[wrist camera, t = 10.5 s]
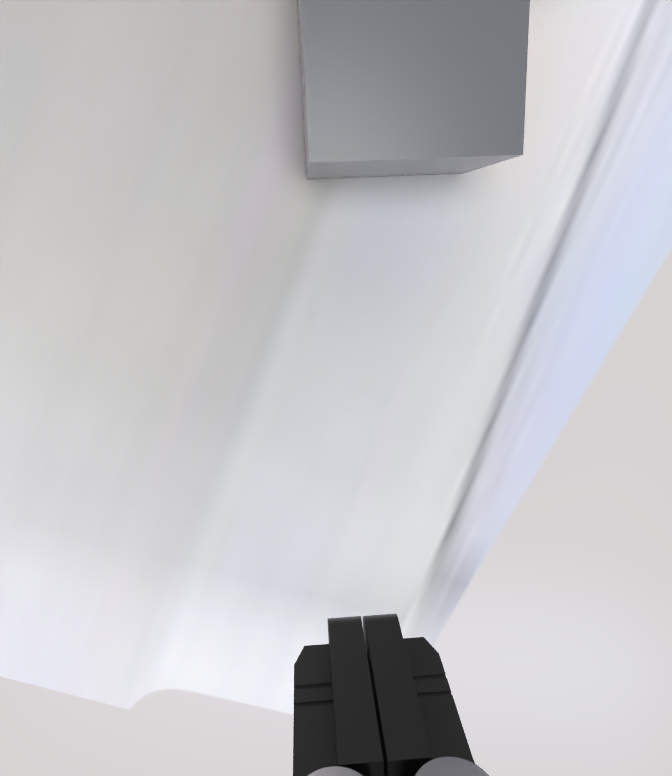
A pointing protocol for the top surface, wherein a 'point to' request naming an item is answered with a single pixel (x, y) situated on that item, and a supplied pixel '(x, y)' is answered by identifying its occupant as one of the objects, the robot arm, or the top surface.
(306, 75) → the block
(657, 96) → the top surface
